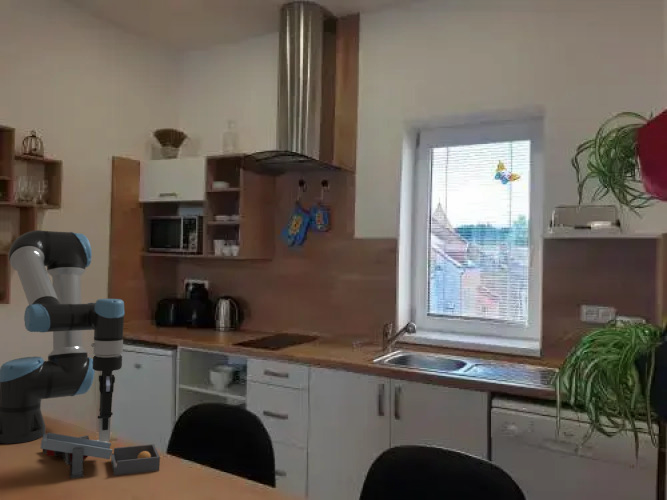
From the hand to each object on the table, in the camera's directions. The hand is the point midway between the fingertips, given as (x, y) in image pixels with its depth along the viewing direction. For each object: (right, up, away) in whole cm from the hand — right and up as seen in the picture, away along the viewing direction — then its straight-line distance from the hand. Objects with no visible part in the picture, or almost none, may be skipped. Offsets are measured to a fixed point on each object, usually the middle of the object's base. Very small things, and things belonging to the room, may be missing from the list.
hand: (104, 440), depth 154 cm
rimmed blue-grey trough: (-5, +1, -7) cm, 8 cm away
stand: (-3, -5, -9) cm, 11 cm away
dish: (+9, -6, -3) cm, 11 cm away
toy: (-11, -5, +2) cm, 13 cm away
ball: (+12, -4, -2) cm, 13 cm away
